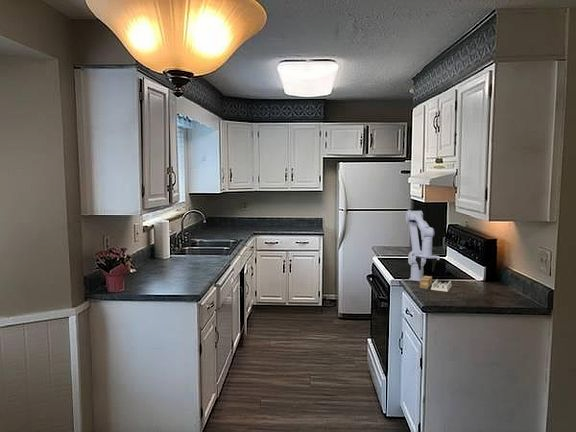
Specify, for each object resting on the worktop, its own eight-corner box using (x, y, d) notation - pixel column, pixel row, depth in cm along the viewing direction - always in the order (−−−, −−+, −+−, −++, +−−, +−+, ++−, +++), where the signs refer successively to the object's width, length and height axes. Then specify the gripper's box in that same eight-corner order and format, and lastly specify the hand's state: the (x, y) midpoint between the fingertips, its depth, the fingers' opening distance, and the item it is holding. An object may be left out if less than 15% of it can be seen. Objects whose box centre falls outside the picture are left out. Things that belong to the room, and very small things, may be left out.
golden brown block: (424, 283, 274) (424, 275, 273) (431, 284, 271) (432, 276, 271) (419, 288, 263) (419, 279, 263) (427, 289, 261) (427, 280, 260)
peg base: (435, 284, 271) (436, 279, 271) (451, 286, 267) (452, 280, 266) (430, 289, 259) (431, 284, 259) (447, 291, 254) (447, 286, 254)
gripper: (412, 248, 265) (412, 270, 266) (438, 250, 258) (437, 273, 259) (415, 246, 271) (415, 268, 272) (440, 248, 264) (440, 270, 265)
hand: (426, 270), depth 266 cm, fingers open, 7 cm apart
